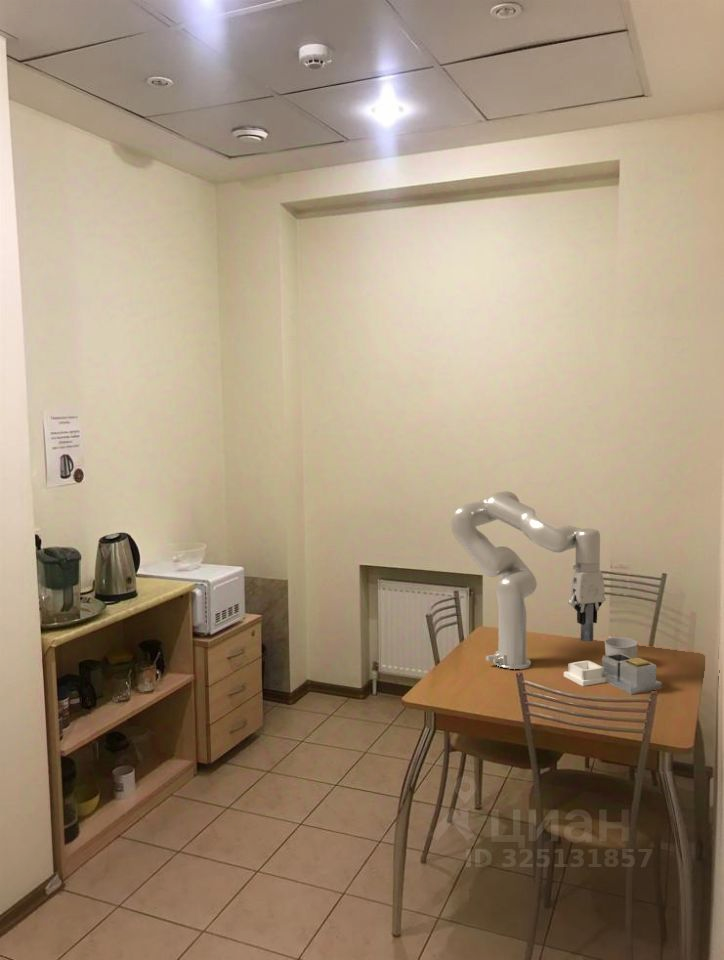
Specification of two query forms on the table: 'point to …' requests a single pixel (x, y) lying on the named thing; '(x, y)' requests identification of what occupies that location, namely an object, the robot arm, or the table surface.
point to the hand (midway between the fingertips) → (587, 622)
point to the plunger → (638, 662)
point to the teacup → (621, 646)
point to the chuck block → (629, 674)
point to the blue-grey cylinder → (588, 623)
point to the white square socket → (585, 673)
